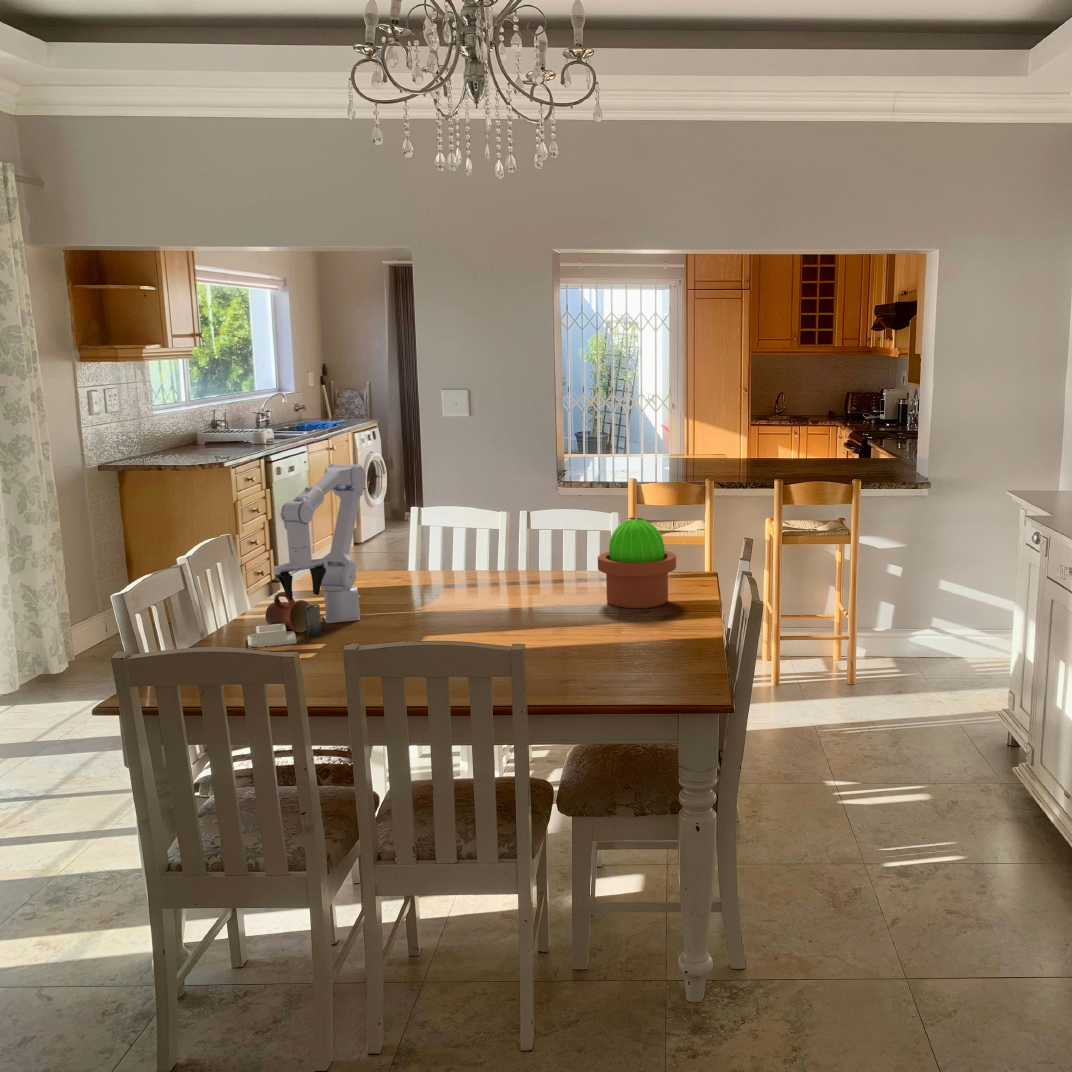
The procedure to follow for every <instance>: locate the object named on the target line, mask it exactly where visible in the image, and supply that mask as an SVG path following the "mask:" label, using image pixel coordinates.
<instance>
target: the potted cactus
mask: <svg viewBox="0 0 1072 1072" xmlns="http://www.w3.org/2000/svg"><path fill="white" fill-rule="evenodd" d="M627 519H628V520H627ZM627 519H625V520H624V522H621V523H620V524H619V525H617V527H616V528H615V529H614V530H613V532H612V534H611V535H610V539H609V542H608V545H607V547H608V550H606V552H602V553H601V554H599V555H598V556H597V570H598V571H599V572H600V573H604V574H605V576H606V583H605V584H606V601H607V603H608V604H610V605H611V606H615V607H617V608H623V609H648V608H649V609H650V608H651V609H652V608H655V607H659V606H663V605H664V604H666V603H667V602H668V600H669V573H671V572H673V571H675V570H676V569H677V554H676V553H674V552H671V551H667V550H666V549H665V543H664V540H663V539H664V536H663V535H662V534H661V531H660V530H659V529H657V527H656V526H655V525H653V524H652V523H651V521H649V522H648V521H647V520H645V518H641V517H637V518H635V517H633V516H631V517H629V518H627ZM662 536H663V537H662Z"/></svg>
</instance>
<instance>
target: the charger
mask: <svg viewBox="0 0 1072 1072" xmlns="http://www.w3.org/2000/svg"><path fill="white" fill-rule="evenodd" d="M255 632H256V633H254V634H249V635H247V647H248V646H257V647H258V648H265V646H267V647H273V646H275V645H276V646H282V645H283V646H284V644H285V645H292V644H297V637H296V633H295V631H294V630H289V631H288V630H287V629H286V627H285V623H283V624H274V625H268V624H267V625H257V626H255ZM248 649H251V648H250V647H248Z"/></svg>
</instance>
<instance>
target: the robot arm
mask: <svg viewBox="0 0 1072 1072" xmlns="http://www.w3.org/2000/svg"><path fill="white" fill-rule="evenodd" d="M365 472H366V471H365V469H364V468H363V466H362V465H361V464H359V463H357V464H341V463H340V464H339V463H337V464H335V463H330V464H329V465H328V466H327V467H326V468H325V469H324V475H323V476H322V477H321V478H320V479H319V480H318V482H316V484H315V485H306V486H305V487H304V489H303V491H302V492H300V493H299V494H298V495H297V496H295V498H294V499H293V500H289V501H288V500H287V501H286V502H285V503H284V504H283V505H282V507H281V512H280V518H281V521H282V522H283V525H284V529H285V530H286V535H287V536H286V537H287V538H286V539H287V548H288V549H287V550H288V561H289V562H287V563H284V564H280V565H276V566H272V567H273V574H274V575H276V578H277V579H278V580H279V582H280V584H281V586H282V587H283V592H285V594H286V597H287V599H288V600H293V599H294V597H293V596H294V594H293V577H294V576H293V575H291V573H292V572H298V571H305V570H309V572H310V575H311V580H312V581H311V582H312V583H311V584H312V592H313V595H316V596H319V595H320V591H321V590H323V596H324V598H323V599H324V600H323V601H324V611H325V612H324V613H325V615H323V620H324V622H325V624H336V623H343V622H354V621H360V620H361V616H360V615H361V614H360V612H361V609H360V600H359V598H360V597H359V592H358V587H357V586H354V584H355V583H356V578H357V577H356V576H357V574H356V568H357V567H356V566H357V563H356V562H355V561H354V560H353V559H352V557H350V551H351V547H352V542H353V538H354V537H353V536H354V531H355V527H356V522H357V516H358V511H359V506H360V499H361V497H362V496H363V494H364V489H365V484H366V479H367V476H366V473H365ZM331 491H332V492H333V494H334V496H337V497H338V498H339V500H340V502H339V506H338V511H337V518H336V522H335V525H334V530H333V531H334V532H333V538H332V541H331V546H330V550H329V553H327V554H326V555H325V556H323V557H322V558H317V559H312V549H311V537H310V522H311V521H312V520H313V516H314V514H315V511H316V510H317V509H318V508H319V507H320V506H321V505H322V504H323V503H324V502H325V495H327V494H328V493H329V492H331ZM287 599H286V600H287ZM288 600H287V601H288Z"/></svg>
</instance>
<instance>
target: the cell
mask: <svg viewBox="0 0 1072 1072" xmlns="http://www.w3.org/2000/svg"><path fill="white" fill-rule="evenodd" d="M308 604H309V605H306V606H305V616H306V629H307V630H306V637H308V638H317V637H321V636H322V623H321V622H322V621H321V610H320V604H316V603H315V602H308Z"/></svg>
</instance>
